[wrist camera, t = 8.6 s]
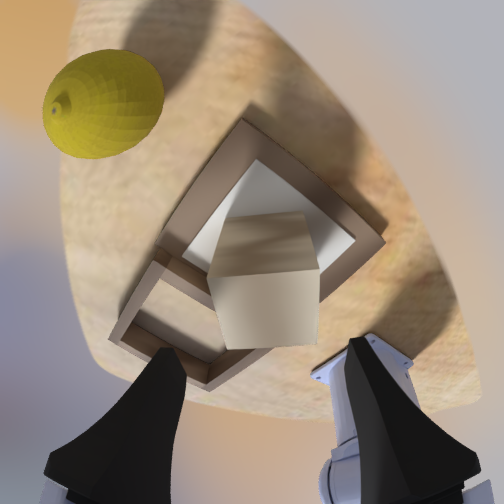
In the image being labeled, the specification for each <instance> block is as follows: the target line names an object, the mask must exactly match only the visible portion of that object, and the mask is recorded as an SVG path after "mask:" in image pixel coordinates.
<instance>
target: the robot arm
mask: <svg viewBox="0 0 504 504" xmlns="http://www.w3.org/2000/svg"><path fill="white" fill-rule="evenodd" d="M413 364H414V363H413V361H412V360H411V359H409V358H408V357H406V356H405V355H403V354H402V353H401V352H399V351H398V350H396V349H395V348H393V347H392V346H390V345H389V344H387V343H386V342H385V341H383V340H382V339H380V338H379V337H377V336H376V335H374V334H372V333H370V334H367V335H366V336H364V337H357V338H350V339H349V345H348V349H346V350H345V351H343V352H342V353H340V354H339V355H337V356H336V357H334V358H333V359H332V360H330V361H328V362H327V363H325V364H324V365H322V366H321V367H319V368H318V369H316V370H314V371H313V372H311V373H310V377H311V378H312V379H315V380H317V381H319V382H322V383H324V384H326V385H329V386H330V392H331V399H332V406H333V413H334V421H335V429H336V437H337V446H338V448H335V449H332V450H331V453H332V458H330V459H328V460H327V461H326V462H325V464H324V466H323V468H322V470H321V472H320V476H319V494H320V498H321V501H322V503H323V504H494V498H493V493H492V487H491V482H490V480H486V481H484V482H482V483H480V484H479V485H477V486H475V487H473V488H471V489H468V490H466V491H463V492H462V490H461V489H463V488H464V487H465V486H464V481H465V480H467V479H469V478H471V477H473V476H475V475H477V474H479V473H480V472H481V467H480V463H479V459H478V457H477V454H476V452H474V451H472V450H470V449H469V448H467V447H466V446H464V445H462V444H461V443H459V442H458V441H457V440H455V439H454V438H453V437H451V436H450V435H448V434H447V433H446V432H445V431H444V430H442V429H441V428H440V427H439V426H438V425H436V424H435V423H434V422H433V421H431V419H430V418H429V417H427V416H426V415H425V414H424V413H423V412H422V411H421V409H420V405H419V402H418V399H417V396H416V393H415V390H414V387H413V384H412V381H411V378H410V375H409V373H408V370H407V369H409V368H410V367H412V366H413ZM186 381H187V374H186V372H185V370H184V368H183V366H182V364H181V362H180V360H179V358H178V356H177V354H176V352H175V350H174V348H169V347H160V348H159V349H158V351H157V352H156V353H155V355H154V356H153V357H152V359H151V360H150V361H149V363H148V364H147V366H146V367H145V368H144V370H143V371H142V372H141V374H140V375H139V376H138V377H137V379H136V380H135V381H134V383H133V384H132V385H131V386H130V388H129V389H128V390H127V391H126V392H125V394H124V395H123V396H122V397H121V398H120V400H118V402H117V403H116V404H115V405H114V406H113V407H112V408H111V409H110V410H109V411H108V412H107V413H106V414H105V415H104V416H103V417H102V418H101V419H100V420H98V421H97V422H96V423H95V424H94V425H93V426H91V427H90V428H89V429H88V430H87V431H85V432H84V433H82V434H81V435H80V436H78V437H77V438H75V439H74V440H72V441H71V442H69V443H68V444H66V445H64V446H62V447H61V448H59V449H57V450H55V451H53V452H51V453H50V455H49V458H48V461H47V464H46V467H45V470H44V475H45V476H47V477H48V478H50V479H52V480H53V481H55V482H57V483H59V484H61V485H63V486H64V487H66V488H68V490H67V489H65V488H62V487H60V486H59V485H57V484H55V483H53V482H51V481H49V480H46V481H45V484H44V488H43V491H42V495H41V499H40V502H39V504H171V494H170V486H171V484H170V483H171V482H170V481H171V463H172V451H173V444H174V438H175V434H176V430H177V426H178V422H179V417H180V413H181V409H182V405H183V401H184V397H185V390H186Z"/></svg>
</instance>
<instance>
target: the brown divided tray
mask: <svg viewBox="0 0 504 504" xmlns="http://www.w3.org/2000/svg"><path fill="white" fill-rule="evenodd" d="M294 211H303V213H304V216H305V220H306V223H307V226H308V229H309V233H310V236H311V240H312V243H313V246H314V250H315V253H316V257H317V261H318V264H319V268H320V291H319V303H321V302H322V301H323V300H324V299H325V298H326V297H328V296H329V295H330V294H331V293H332V292H333V291H335V290H336V289H337V288H338V287H339V286H340V285H341V284H343V283H344V282H345V281H346V280H347V279H348V278H349V277H350V276H352V275H353V274H354V273H355V272H356V271H357V270H358V269H359V268H360V267H361V266H363V265H364V264H365V263H366V262H367V261H368V260H369V259H370V258H371V257H372V256H373V255H374V254H375V253H376V252H377V251H378V250H380V249H381V248H382V247H383V246H384V245H385V244H386V242H385V241H384V239H383V238H382V236H381V235H380V234H379V233H378V232H377V231H376V230H375V229H374V228H373V227H372V226H371V225H370V224H369V223H368V222H367V221H366V220H365V219H364V218H362V217H361V216H360V215H359V214H358V213H357V212H356V211H355V210H354V209H353V208H352V207H351V206H350V205H349V204H348V203H347V202H346V201H344V200H343V199H342V198H341V197H340V196H339V195H338V194H337V193H336V192H335V191H333V190H332V189H331V188H330V187H329V186H328V185H327V184H326V183H324V182H323V181H322V180H321V179H320V178H319V177H317V176H316V175H315V174H314V173H313V172H312V171H310V170H309V169H308V168H307V167H306V166H304V165H303V164H302V163H301V162H300V161H298V160H297V159H296V158H295V157H294V156H292V155H291V154H290V153H289V152H287V151H286V150H285V149H284V148H282V147H281V146H280V145H278V144H277V143H276V142H275V141H273V140H272V139H271V138H269V137H268V136H267V135H265V134H264V133H263V132H261V131H260V130H259V129H257V128H256V127H255V126H253V125H252V124H251V123H249V122H248V121H246V120H245V119H244V118H242V119H241V120H240V122H239V123H238V124H237V125H236V127H235V128H234V129H233V130H232V132H231V133H230V134H229V136H228V137H227V138H226V140H225V141H224V142H223V144H222V145H221V146H220V148H219V149H218V150H217V152H216V153H215V154H214V156H213V157H212V158H211V160H210V161H209V162H208V164H207V165H206V167H205V168H204V169H203V171H202V172H201V174H200V175H199V176H198V178H197V179H196V181H195V182H194V184H193V185H192V187H191V188H190V189H189V191H188V192H187V194H186V195H185V197H184V198H183V200H182V201H181V203H180V204H179V206H178V207H177V209H176V210H175V212H174V213H173V215H172V217H171V218H170V220H169V221H168V223H167V224H166V226H165V228H164V229H163V231H162V232H161V234H160V236H159V237H158V239H157V240H156V242H155V244H156V245H157V246H159V247H160V249H159V251H158V252H157V254H156V256H155V257H154V259H153V261H152V262H151V264H150V265H149V267H148V269H147V270H146V272H145V274H144V275H143V277H142V279H141V280H140V282H139V284H138V285H137V287H136V289H135V291H134V292H133V294H132V296H131V298H130V299H129V301H128V303H127V305H126V306H125V308H124V310H123V312H122V314H121V315H120V317H119V319H118V321H117V323H116V325H115V327H114V328H113V330H112V332H111V334H110V336H109V338H108V340H110V341H111V342H113V343H115V344H116V345H118V346H120V347H121V348H123V349H125V350H126V351H128V352H130V353H132V354H133V355H135V356H137V357H139V358H140V359H142V360H144V361H146V362H148V363H149V361H150V360H151V359H152V357H153V356H154V355H155V353H156V352H157V351H158V349H159V348H160V347H169V348H174V350H175V352H176V354H177V356H178V358H179V360H180V362H181V364H182V366H183V368H184V370H185V372H186V374H187V381H186V382H188V383H190V384H192V385H195V386H197V387H199V388H201V389H204V390H206V391H208V392H210V391H212V390H214V389H215V388H217V387H218V386H220V385H221V384H223V383H224V382H226V381H227V380H229V379H230V378H232V377H233V376H235V375H236V374H238V373H239V372H241V371H242V370H244V369H245V368H247V367H248V366H250V365H251V364H252V363H254V362H255V361H257V360H258V359H259V358H261V357H262V356H264V355H265V354H266V353H268V352H269V351H271V350H272V349H273V348H275V347H273V348H254V349H229V350H227V351H226V352H225V353H224V354H222V355H221V356H220V357H219V358H217V359H216V360H215V361H214V362H212V363H211V364H210V365H209V364H207V363H205V362H203V361H201V360H199V359H197V358H195V357H193V356H191V355H189V354H187V353H185V352H183V351H182V350H180V349H178V348H176V347H174V346H172V345H170V344H168V343H167V342H165V341H163V340H161V339H159V338H158V337H156V336H154V335H152V334H151V333H149V332H147V331H145V330H144V329H142V328H140V327H139V326H137V325H135V324H134V323H132V320H133V318H134V317H135V315H136V314H137V312H138V311H139V309H140V307H141V306H142V304H143V303H144V301H145V300H146V298H147V297H148V295H149V293H150V292H151V290H152V289H153V287H154V286H155V284H156V283H157V281H158V280H159V278H161V279H162V280H164V281H165V282H167V283H168V284H170V285H172V286H173V287H175V288H176V289H178V290H180V291H181V292H183V293H185V294H186V295H188V296H190V297H191V298H193V299H195V300H196V301H198V302H200V303H201V304H203V305H205V306H206V307H208V308H210V309H211V310H213V311H215V307H214V304H213V300H212V296H211V293H210V289H209V286H208V282H207V275H208V272H209V268H210V265H211V262H212V258H213V255H214V252H215V249H216V245H217V242H218V239H219V236H220V233H221V230H222V226H223V223H224V220H225V218H231V217H241V216H250V215H261V214H271V213H282V212H294ZM215 312H216V311H215Z"/></svg>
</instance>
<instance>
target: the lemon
mask: <svg viewBox="0 0 504 504" xmlns="http://www.w3.org/2000/svg"><path fill="white" fill-rule="evenodd" d="M163 103H164V87H163V83H162V80H161V77H160V75H159V74H158V72H157V71H156V69H155V67H154V66H153V65H152V64H151V63H149V62H148V61H147V60H146V59H145V58H143V57H142V56H140V55H137V54H135V53H132V52H129V51H126V50H114V49H106V50H100V51H96V52H92V53H88V54H85V55H82V56H80V57H79V58H77V59H75V60H74V61H72V62H70V63H69V64H67V65H66V66H65V67H64V68H63V69H62V70H61V71H60V72H59V73H58V74H57V75H56V77H55V78H54V80H53V81H52V83H51V84H50V86H49V89H48V91H47V93H46V96H45V99H44V104H43V122H44V127H45V130H46V132H47V135H48V137H49V138H50V140H51V141H52V142H53V144H54V145H55V146H56V147H57V148H58V149H60V150H61V151H62V152H64V153H66V154H68V155H71V156H73V157H76V158H85V159H101V158H105V157H110V156H115V155H118V154H120V153H122V152H124V151H126V150H128V149H130V148H132V147H134V146H135V145H137V144H138V143H139V142H140V141H141V140H143V139H144V138H145V137H146V136H147V135H148V134H149V133H150V131H151V130H152V129H153V127H154V126H155V125H156V123H157V121H158V119H159V117H160V115H161V112H162V108H163Z"/></svg>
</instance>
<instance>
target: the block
mask: <svg viewBox="0 0 504 504" xmlns="http://www.w3.org/2000/svg"><path fill="white" fill-rule="evenodd" d="M207 282H208V286H209V289H210V293H211V296H212V300H213V304H214V307H215V311H216V314H217V318H218V321H219V324H220V328H221V331H222V334H223V338H224V341H225V344H226V348H227V349H254V348H273V347H287V346H299V345H310V344H317V341H318V321H319V291H320V268H319V264H318V261H317V257H316V253H315V250H314V246H313V243H312V240H311V236H310V233H309V229H308V226H307V223H306V220H305V216H304V213H303V211H294V212H282V213H271V214H261V215H250V216H241V217H231V218H225V220H224V223H223V226H222V230H221V233H220V236H219V239H218V242H217V245H216V249H215V252H214V255H213V258H212V262H211V265H210V268H209V272H208V275H207Z"/></svg>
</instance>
